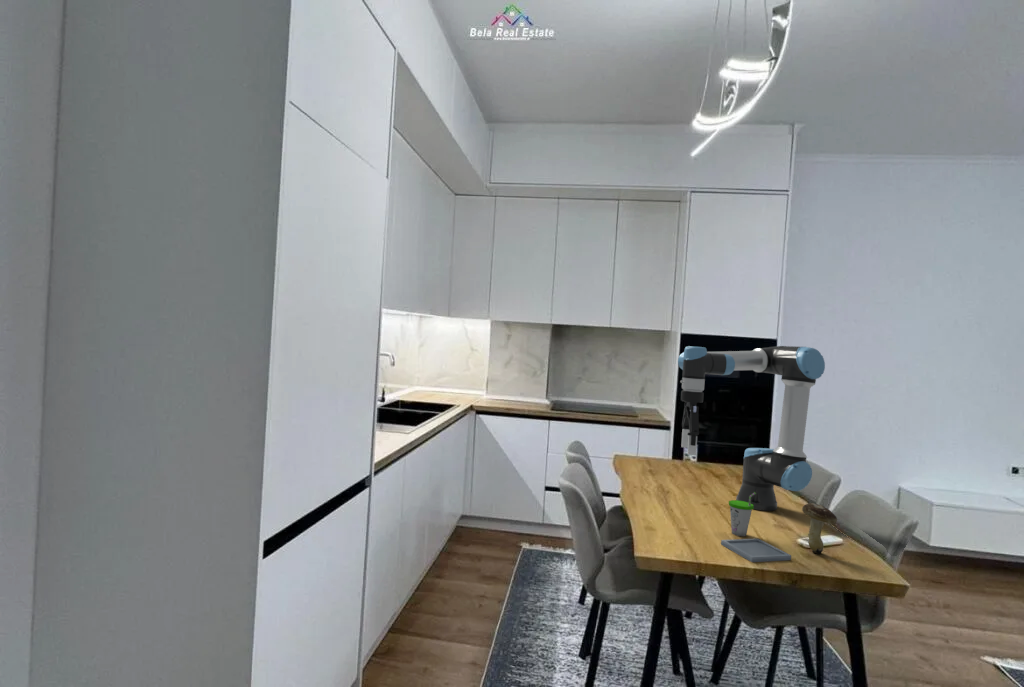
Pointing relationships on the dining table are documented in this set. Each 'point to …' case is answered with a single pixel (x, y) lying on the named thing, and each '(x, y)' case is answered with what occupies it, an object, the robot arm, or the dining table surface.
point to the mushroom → (817, 524)
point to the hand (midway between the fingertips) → (688, 451)
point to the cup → (740, 516)
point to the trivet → (755, 550)
